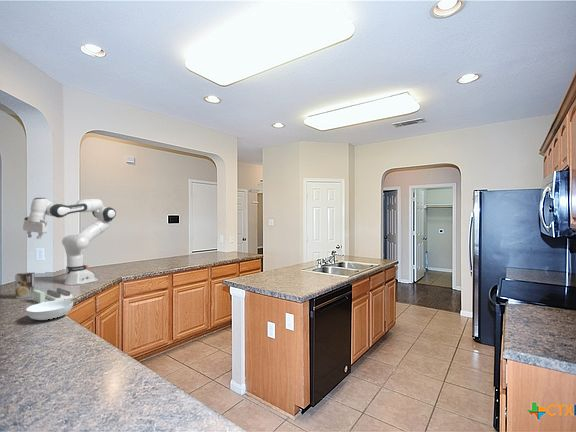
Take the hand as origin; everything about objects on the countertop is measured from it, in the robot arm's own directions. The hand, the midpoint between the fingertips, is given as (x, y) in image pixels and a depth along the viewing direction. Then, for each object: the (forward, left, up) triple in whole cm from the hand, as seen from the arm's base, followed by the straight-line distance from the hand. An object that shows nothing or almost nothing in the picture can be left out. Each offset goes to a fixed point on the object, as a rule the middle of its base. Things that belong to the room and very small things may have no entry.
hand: (33, 238), depth 214 cm
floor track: (-4, +30, -39) cm, 50 cm away
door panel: (+7, +31, -39) cm, 50 cm away
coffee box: (+8, +11, -39) cm, 42 cm away
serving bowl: (+14, +68, -39) cm, 80 cm away
